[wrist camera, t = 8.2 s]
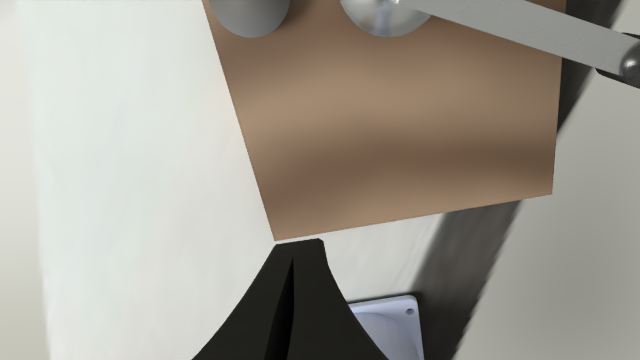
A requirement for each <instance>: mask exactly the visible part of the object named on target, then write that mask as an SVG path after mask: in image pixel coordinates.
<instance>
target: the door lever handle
mask: <svg viewBox="0 0 640 360" xmlns="http://www.w3.org/2000/svg"><path fill="white" fill-rule="evenodd" d="M339 1H340V3H341V6H342V7H343V9H344V11H345V12H346V13H347V15H348V16H349V17H350V19H351V20H352V21H353V22H354V23H355V24H356V25H357V26H358V27H359V28H361V29H362V30H364V31H366V32H367V33H370V34H372V35H375V36H380V37H396V36H401V35H404V34H407V33H409V32H411V31H413V30H415V29H416V28H418V27H420V26H421V25H422V24H423V23H424V22H425V21H426V20H427V19H428V18H429V17H430V16H431V15H434V16H437V17H440V18H443V19H447V20H450V21H453V22H456V23H459V24H462V25H465V26H468V27H471V28H474V29H477V30H481V31H484V32H487V33H490V34H493V35H496V36H499V37H502V38H505V39H508V40H512V41H515V42H518V43H521V44H524V45H527V46H530V47H533V48H536V49H539V50H542V51H546V52H549V53H552V54H555V55H558V56H561V57H564V58H567V59H570V60H573V61H577V62H580V63H583V64H586V65H589V66H592V67H595V69H596V71H597V72H598V73H599V74H601V75H603V76H605V77H608V78H611V79H614V80H616V81H619V82H622V83H625V84H627V85H630V86H633V87H636V88H639V89H640V35H635V34H629V33H619V32H616V31H613V30H610V29H607V28H604V27H601V26H598V25H595V24H593V23H590V22H587V21H584V20H581V19H578V18H575V17H572V16H569V15H566V14H563V13H560V12H557V11H554V10H551V9H548V8H545V7H543V6H540V5H537V4H534V3H531V2H528V1H525V0H339Z"/></svg>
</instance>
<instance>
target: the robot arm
mask: <svg viewBox="0 0 640 360" xmlns="http://www.w3.org/2000/svg"><path fill="white" fill-rule="evenodd" d="M407 309H411V310H407ZM192 360H424V355H423V346H422V338H421V329H420V320H419V312H418V304H417V300H416V298H415V297H414V296H412V295H405V296H399V297H393V298H386V299H380V300H373V301H367V302H360V303H354V304H347V302H346V300H345V299H344V297H343V295H342V293H341V291H340V290H339V288H338V286H337V284H336V281H335V279H334V277H333V275H332V273H331V271H330V268H329V266H328V262H327V257H326V252H325V247H324V243H323V241H322V240H321V239H319V238H317V239H310V240H303V241H296V242H289V243H283V244H276V245H275V246H274V248H273V249H272V251H271V253H270V254H269V256H268V258H267V260H266V261H265V263H264V265H263V266H262V268H261V270H260V271H259V273H258V274H257V276H256V278H255V279H254V281H253V282H252V284H251V285H250V287H249V288H248V290H247V291H246V293H245V295H244V296H243V297H242V299H241V300H240V302H239V303H238V304H237V306H236V307H235V309H234V310H233V311H232V313H231V314H230V315H229V317H228V318H227V319H226V321H225V322H224V323H223V325H222V326H221V327H220V328H219V330H218V331H217V332H216V333H215V334H214V336H213V337H212V338H211V339H210V340H209V342H208V343H207V344H206V345H205V346H204V347H203V348H202V349H201V351H200V352H199V353H198V354H197V355H196V356H195V357H194V358H193V359H192Z"/></svg>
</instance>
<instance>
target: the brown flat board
mask: <svg viewBox="0 0 640 360" xmlns="http://www.w3.org/2000/svg"><path fill="white" fill-rule="evenodd" d="M525 1H528V2H531V3H534V4H537V5H540V6H543V7H545V8H548V9H551V10H554V11H557V12H560V13H563V14H565V12H566V0H525ZM202 3H203V6H204V9H205V13H206V16H207V19H208V22H209V26H210V29H211V32H212V36H213V39H214V42H215V46H216V49H217V52H218V56H219V59H220V62H221V65H222V69H223V72H224V75H225V79H226V82H227V85H228V89H229V92H230V95H231V99H232V102H233V105H234V108H235V112H236V115H237V118H238V122H239V125H240V128H241V132H242V135H243V138H244V142H245V145H246V148H247V152H248V155H249V158H250V161H251V165H252V168H253V171H254V175H255V178H256V181H257V185H258V188H259V191H260V195H261V198H262V201H263V204H264V208H265V211H266V214H267V218H268V221H269V224H270V228H271V231H272V234H273V238H274V241H279V240H285V239H291V238H297V237H302V236H308V235H314V234H320V233H326V232H332V231H338V230H344V229H350V228H356V227H362V226H368V225H373V224H379V223H385V222H391V221H397V220H403V219H409V218H415V217H421V216H427V215H433V214H439V213H444V212H450V211H456V210H462V209H468V208H474V207H480V206H486V205H492V204H498V203H504V202H510V201H515V200H521V199H527V198H533V197H539V196H545V195H550V194H552V187H553V174H554V159H555V147H556V133H557V120H558V106H559V93H560V80H561V66H562V57H561V56H558V55H555V54H552V53H549V52H546V51H542V50H539V49H536V48H533V47H530V46H527V45H524V44H521V43H518V42H515V41H512V40H508V39H505V38H502V37H499V36H496V35H493V34H490V33H487V32H484V31H481V30H477V29H474V28H471V27H468V26H465V25H462V24H459V23H456V22H453V21H450V20H447V19H443V18H440V17H437V16H434V15H431V16H430V17H429V18H428V19H427V20H426V21H425V22H424V23H423V24H422V25H421V26H420V27H418V28H416V29H415V30H413V31H411V32H409V33H407V34H404V35H401V36H396V37H380V36H375V35H372V34H370V33H367V32H366V31H364V30H362V29H361V28H359V27H358V26H357V25H356V24H355V23H354V22H353V21H352V20H351V19H350V17H349V16H348V15H347V13H346V12H345V11H344V9H343V7H342V6H341V3H340V1H339V0H202Z"/></svg>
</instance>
